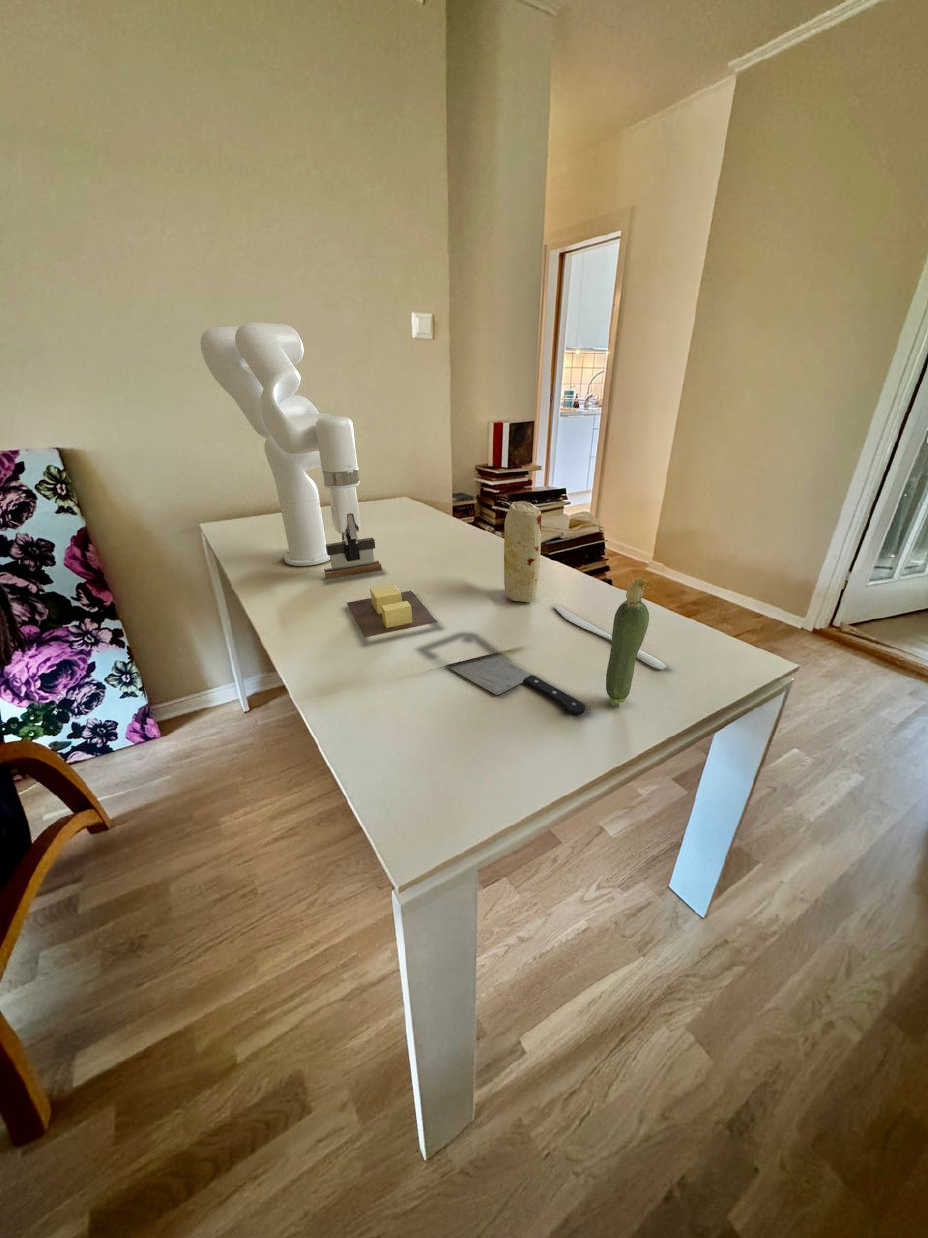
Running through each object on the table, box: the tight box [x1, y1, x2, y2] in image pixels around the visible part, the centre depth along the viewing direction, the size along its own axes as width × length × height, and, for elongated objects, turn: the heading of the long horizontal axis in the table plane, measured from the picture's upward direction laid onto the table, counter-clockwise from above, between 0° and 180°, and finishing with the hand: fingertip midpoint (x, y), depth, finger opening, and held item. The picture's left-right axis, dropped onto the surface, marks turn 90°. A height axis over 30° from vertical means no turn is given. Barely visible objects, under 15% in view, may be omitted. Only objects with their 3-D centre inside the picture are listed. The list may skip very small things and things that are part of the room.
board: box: [346, 590, 438, 638], centre depth 94 cm, size 16×14×2 cm
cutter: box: [325, 537, 376, 571], centre depth 112 cm, size 2×11×8 cm, turn 114°
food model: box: [503, 500, 542, 603], centre depth 98 cm, size 10×7×20 cm
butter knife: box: [554, 605, 667, 670], centre depth 87 cm, size 1×27×3 cm
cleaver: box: [445, 652, 586, 715], centre depth 76 cm, size 29×1×10 cm
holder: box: [323, 560, 383, 580], centre depth 114 cm, size 3×13×2 cm, turn 114°
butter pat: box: [381, 601, 412, 628], centre depth 89 cm, size 2×5×4 cm, turn 114°
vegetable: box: [605, 576, 650, 706], centre depth 65 cm, size 4×4×20 cm
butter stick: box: [369, 583, 402, 614], centre depth 95 cm, size 5×5×4 cm
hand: (352, 557), depth 112 cm, fingers closed on cutter, 1 cm apart
